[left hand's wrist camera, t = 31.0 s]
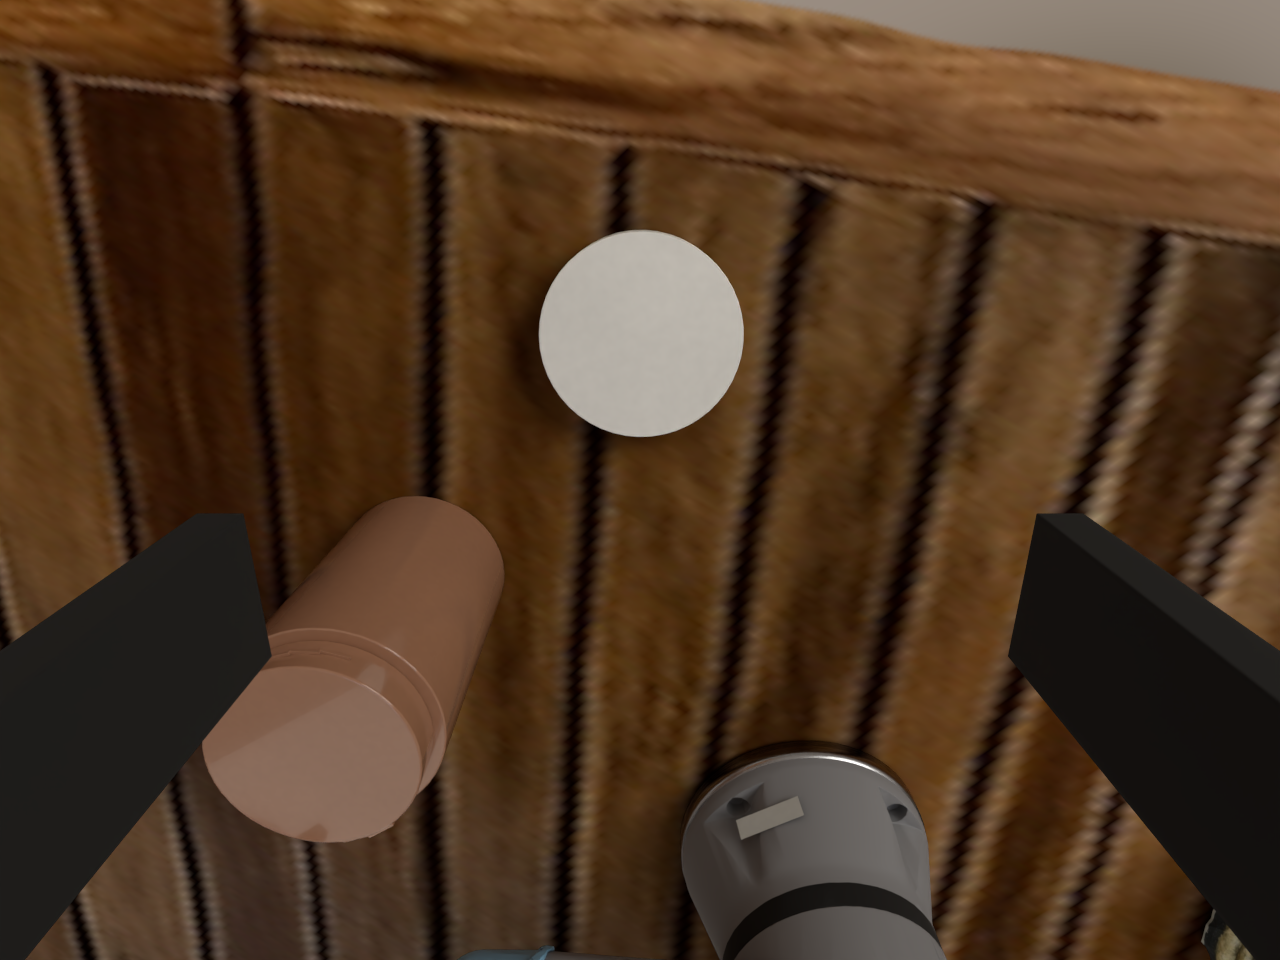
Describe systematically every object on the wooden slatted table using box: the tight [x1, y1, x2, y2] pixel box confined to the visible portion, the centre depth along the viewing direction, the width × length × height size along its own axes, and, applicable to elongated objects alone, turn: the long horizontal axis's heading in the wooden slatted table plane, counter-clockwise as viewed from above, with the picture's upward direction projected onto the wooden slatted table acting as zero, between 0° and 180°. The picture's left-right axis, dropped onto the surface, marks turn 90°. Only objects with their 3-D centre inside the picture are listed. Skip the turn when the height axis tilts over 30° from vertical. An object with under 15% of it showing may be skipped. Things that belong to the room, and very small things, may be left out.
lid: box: [539, 230, 743, 437], centre depth 36 cm, size 10×10×2 cm
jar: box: [202, 496, 504, 843], centre depth 34 cm, size 9×9×15 cm
